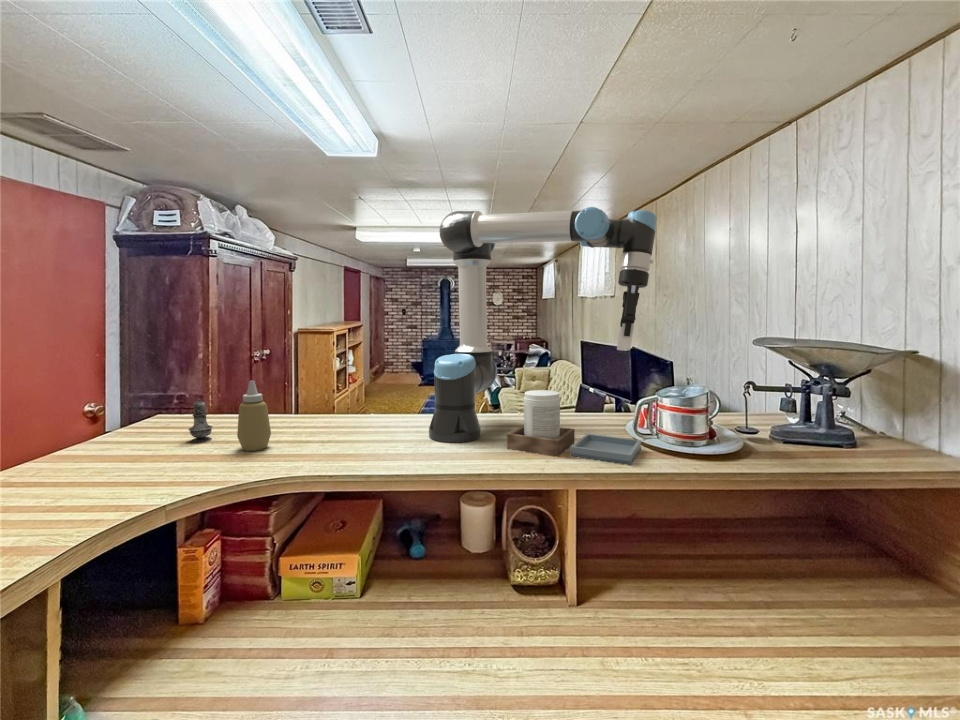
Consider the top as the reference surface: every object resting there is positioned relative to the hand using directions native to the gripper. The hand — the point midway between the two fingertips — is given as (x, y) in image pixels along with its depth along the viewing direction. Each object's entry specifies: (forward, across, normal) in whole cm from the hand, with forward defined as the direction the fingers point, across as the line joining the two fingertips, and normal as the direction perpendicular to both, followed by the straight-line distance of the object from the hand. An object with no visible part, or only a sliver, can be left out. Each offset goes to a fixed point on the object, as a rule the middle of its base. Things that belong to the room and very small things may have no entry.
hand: (623, 350), depth 127 cm
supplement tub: (+29, -4, +18) cm, 34 cm away
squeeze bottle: (+39, -25, +90) cm, 101 cm away
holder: (+29, -4, +18) cm, 34 cm away
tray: (+27, -6, +1) cm, 28 cm away
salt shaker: (+41, -22, +110) cm, 119 cm away
